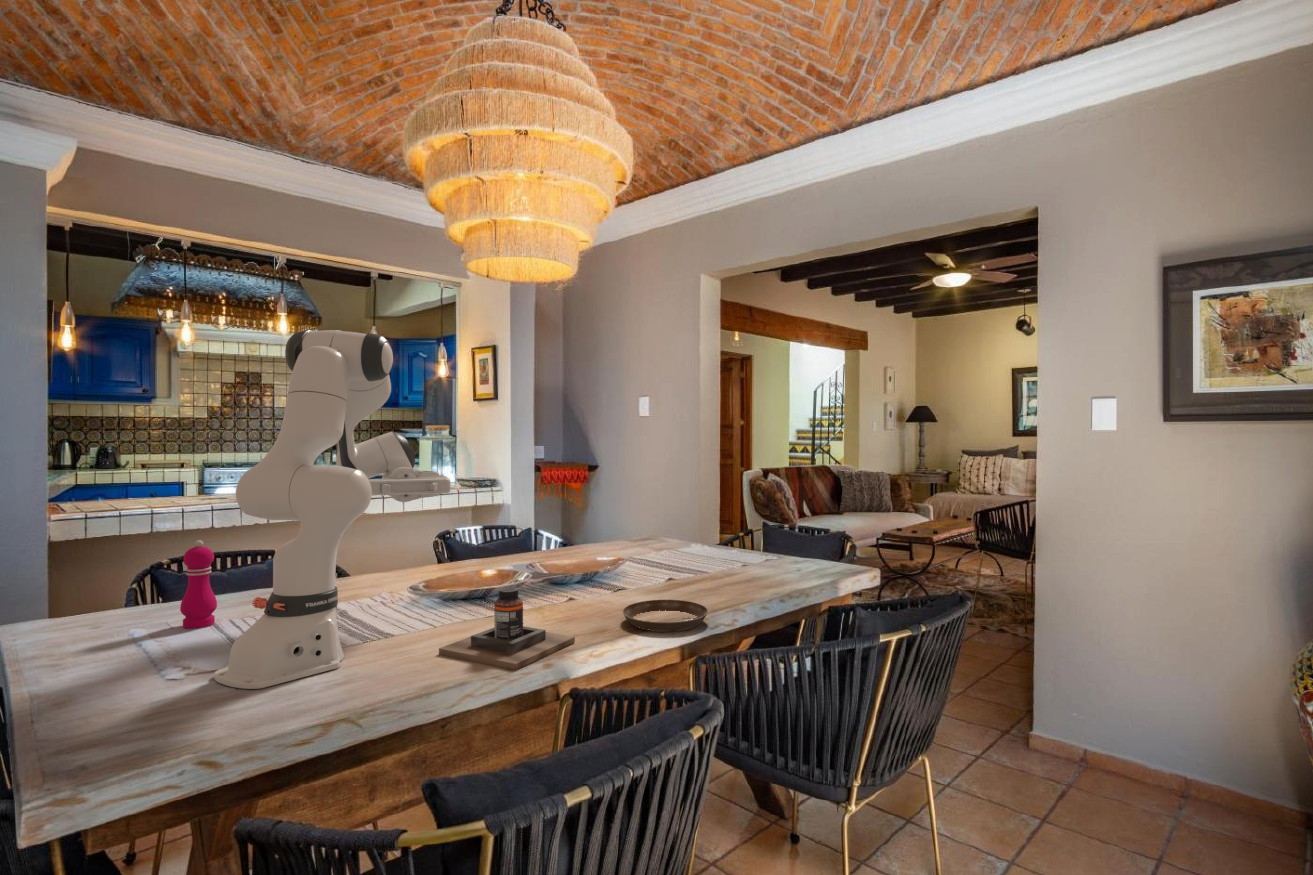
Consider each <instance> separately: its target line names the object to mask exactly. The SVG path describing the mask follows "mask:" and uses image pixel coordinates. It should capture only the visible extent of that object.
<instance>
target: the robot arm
mask: <svg viewBox="0 0 1313 875" xmlns="http://www.w3.org/2000/svg"><path fill="white" fill-rule="evenodd" d="M284 351H285V352H284V354H285V355H284V356H285V361H286V365H287V366H288V368H289V370H290V371H291V377H290V379H289V384H288V387H287V388H288V389H287V394H286V395H287V396H286V402H285V408H284V413H283V418H282V423H281V428H280V430H279V434H278V436H277V438H276V440H275V442H274V444H273V445H272V447H271V448H270V450H268V452H267V454H266V455H265V456H264V457H263V458H262V459H260V461H259V462H258V463H256V464H255V465H254V466H253V467H251V468H249V469H247V470H246V471H245V472H244V473H243V474H242V475H241V477H240V478H239V480H238V482H237V484H236V488H235V498H236V503H237V505H238V507H239V509H240V510H241V511H242V512H243V513H244V514H245V515H247V516H250V517H254V518H257V519H263V520H269V521H300V526H299V530H298V534H297V535H296V537H294V538H293V539H290V540H288V541H287V542H285V543H284V544H282V545H281V546H279V548H278V549H277V550H276V552H275V553H274V554H273V558H272V560H273V561H272V570H273V571H272V592H271V593H270V595H269V598H268V599H267V598H264V597H263V598H262V597H261V596H257V597H255V598H253V600H252V603H251V605H252V607H253V608H255V609H261V610H262V609H264V610H263V613H264V614H263V615H262V616H261V617H260V618H258V619H257V621H255V622H254V623H253V624H252V625H251V626H250V627H249V628H248V629H247V630H246V631H244V632H243V633H242V634H241V635H240V636H239V637H238V638H237V639H236V640H234V642H233V643H232V646H231V648H230V652H229V658H228V662H227V663H228V664H227V666H226V667H223V668H220V669H217V670H216V671H215V672H214V676H213V680H214V681H215V682H217V683H219V684H221V685H224V686H228V687H232V688H236V689H247V690H251V689H252V690H253V689H254V690H255V689H256V690H258V689H264V688H268V687H271V686H276V685H279V684H282V683H287V682H290V681H295V680H297V679H298V680H299V679H302V678H305V677H309V676H313V675H317V674H320V673H324V672H327V671H332V670H336V669H338V668H340V666H341V664H340V663H341V661H342V660H343V659H344V657H345V653H344V651H343V648H342V644H341V640H340V634H339V628H338V621H337V608H338V604H339V602H338V601H339V596H338V595H339V593H338V591H339V590H338V587H337V586H336V571H337V570H336V568H337V557H338V556H337V555H338V549H339V546H340V542H341V540H342V537H343V536H344V534H345V532H346V530H347V529H348V528H349V526H350V525H351V524H352V523H354V521H355V520H356V519H358V518H359V517H361V516H362V515H363V514H364V513H365V511H367V509H368V507H369V506H370V504H371V501H372V498H373V497H372V496H389V497H390V498H391V499H393V500H395V501H396V502H399V503H400V502H401V503H408V502H411V501H415V500H419V499H422V498H423V499H424V498H431V497H433V498H434V497H439V495H443V494H444V495H445V494H449V493H450V492H451V479H450V478H449V476H446V475H443V474H440V473H439V472H438V471H434V470H433V471H432V470H431V471H430V470H429V471H428V470H419V469H415V464H416V458H415V454H414V452H413V449H412V447H411V444H410V443H409V440H408V439H406V438H405V436H403V435H402V434H400V433H398V432H395V431H389V432H387V433H384V434H381V435H378V436H375V437H372V438H370V439H367V440H364V441H362V442H358V443H355V436H354V434H355V433H354V430H355V428H356V426H358V425H359V423H360V422H362V421H363V420H364V419H365V418H367V417H369V416H370V415H371V414H373V413H375V412H376V411H378V410H379V409H381V408H382V407H383V406H384V404H386V403H387V401H388V400H389V398H390V396H391V393H392V382H391V378H390V377H391V376H390V373H391V371H392V368H393V362H394V355H393V354H394V353H393V349H392V345H391V343H390V342H389V340H388V339H386V338H385V337H384V336H383V335H381V334H376V333H371V332H369V333H368V332H367V333H363V332H362V333H361V332H357V331H356V332H355V331H346V330H345V331H343V330H339V329H337V330H336V329H329V330H328V329H327V330H311V329H308V330H307V329H306V330H302V331H301V330H300V331H297V332H294V333H293V334H292V335H291V336H290V337H289V339H288V340H287V341H286V345H285V350H284ZM334 446H335V457H336V458H335V465H332V464H331V465H320V464H318V465H315V464H314V463H315V462H316V460H317V458H318V457H319V456H320V455H321V454H322V453H323V452H325V451H326V450H327V449H330V448H331V447H334ZM379 475H382V477H381V478H374V477H376V476H379Z"/></svg>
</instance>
